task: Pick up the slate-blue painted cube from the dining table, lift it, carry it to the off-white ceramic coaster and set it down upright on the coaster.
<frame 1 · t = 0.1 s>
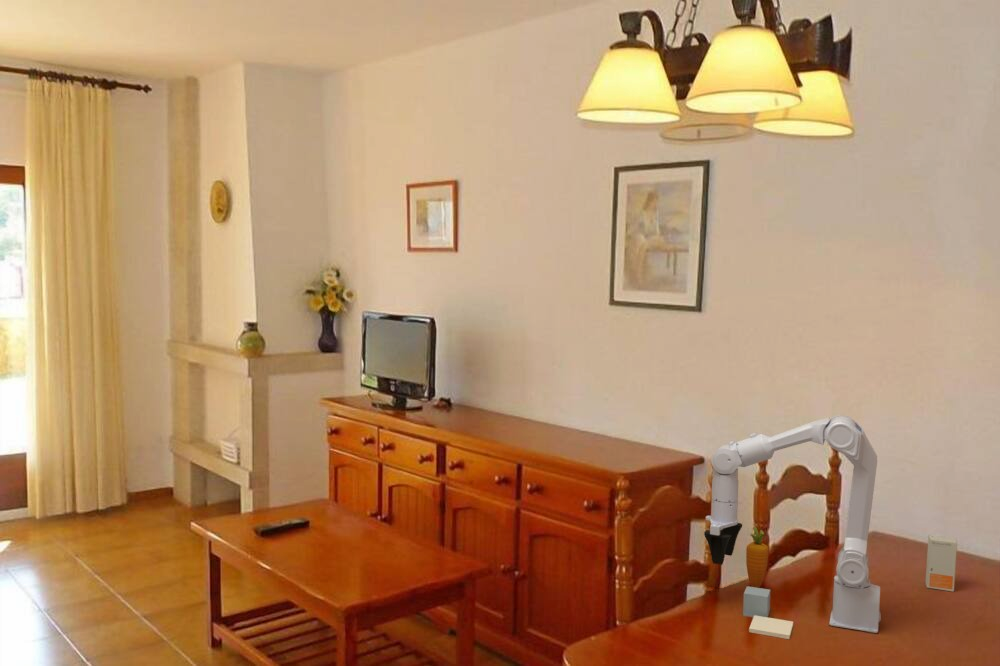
hand: (722, 559, 199), 10 cm above the table, tool pointing down, fingers open, 7 cm apart
cube: (756, 613, 194), on the table
coaster: (771, 628, 185), on the table
carrot: (755, 591, 208), on the table
skincare box: (939, 588, 213), on the table
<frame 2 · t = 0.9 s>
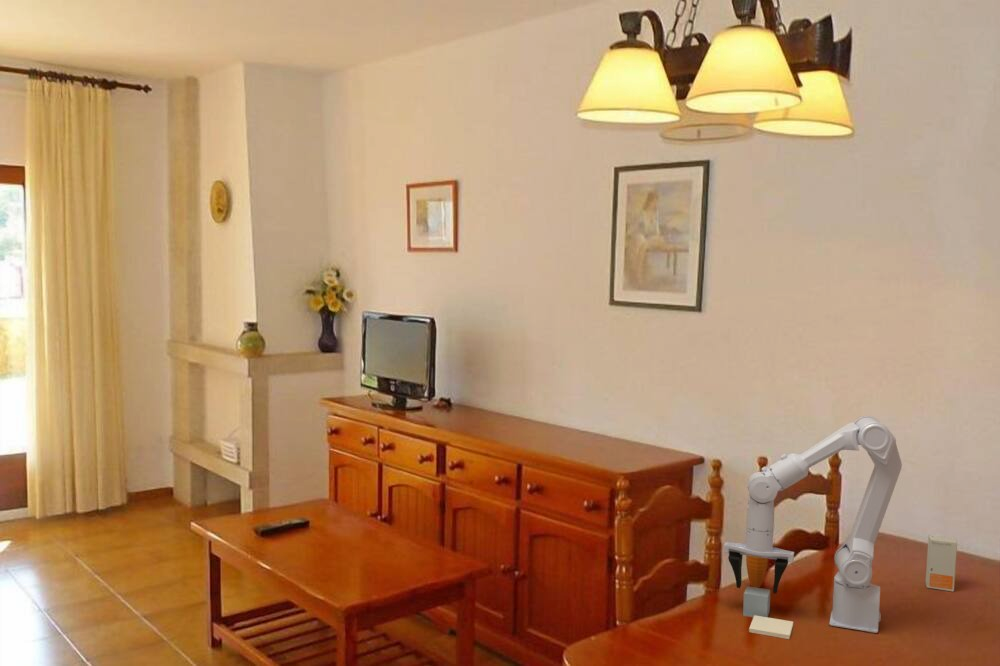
hand: (756, 589, 194), 5 cm above the table, tool pointing down, fingers open, 7 cm apart
nothing on the table moved.
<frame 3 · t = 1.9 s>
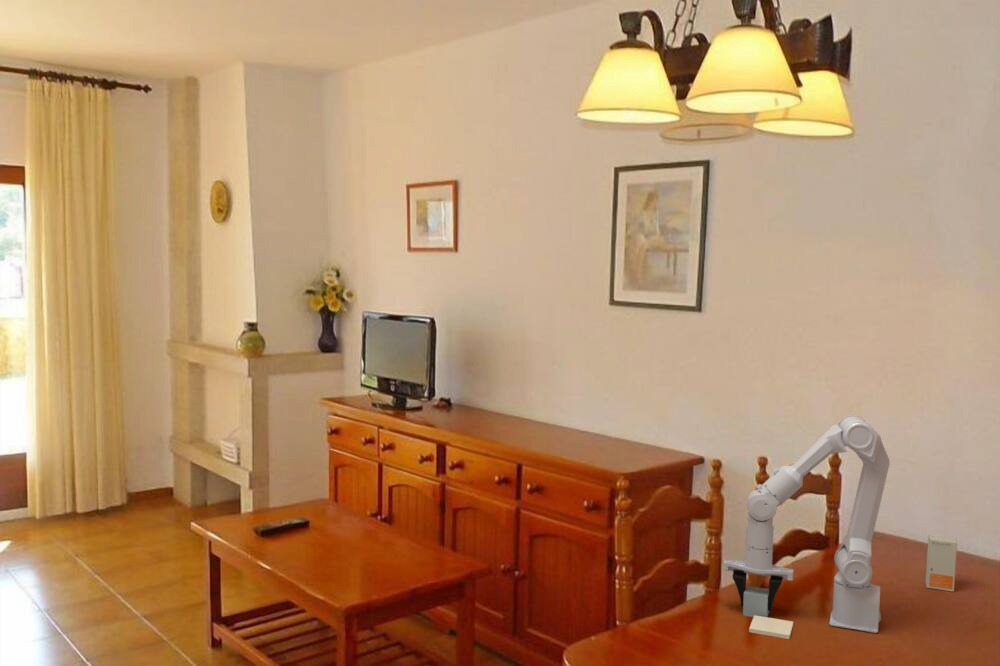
hand: (756, 607, 194), 1 cm above the table, tool pointing down, fingers closed on cube, 5 cm apart
cube: (756, 613, 194), on the table, touching gripper
everything else where it was.
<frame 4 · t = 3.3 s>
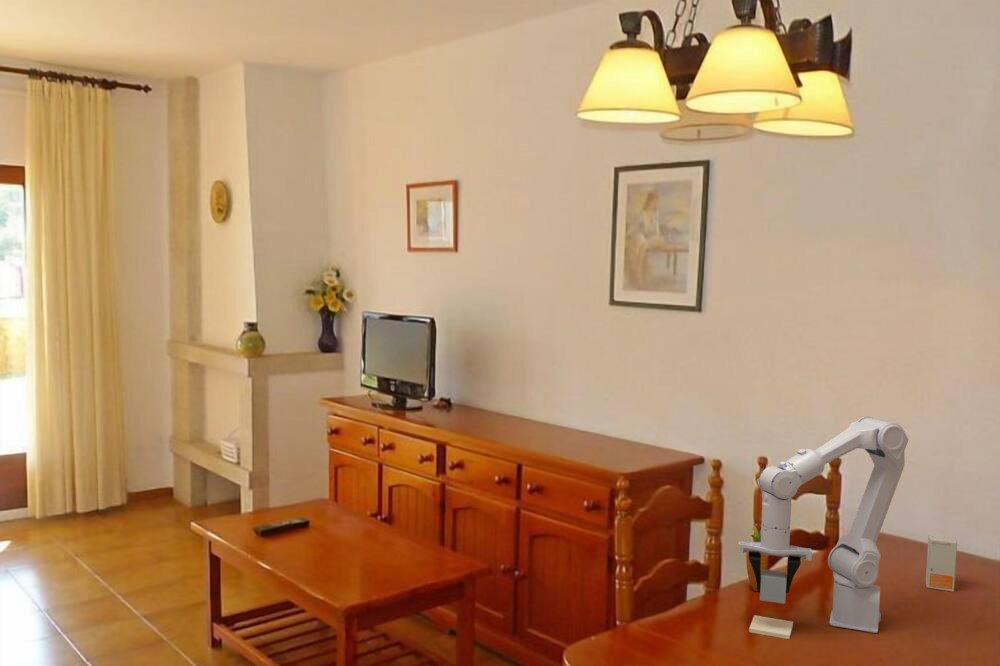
hand: (772, 589, 185), 8 cm above the table, tool pointing down, fingers closed on cube, 5 cm apart
cube: (772, 597, 185), point 7 cm above the table, touching gripper
everything else where it was.
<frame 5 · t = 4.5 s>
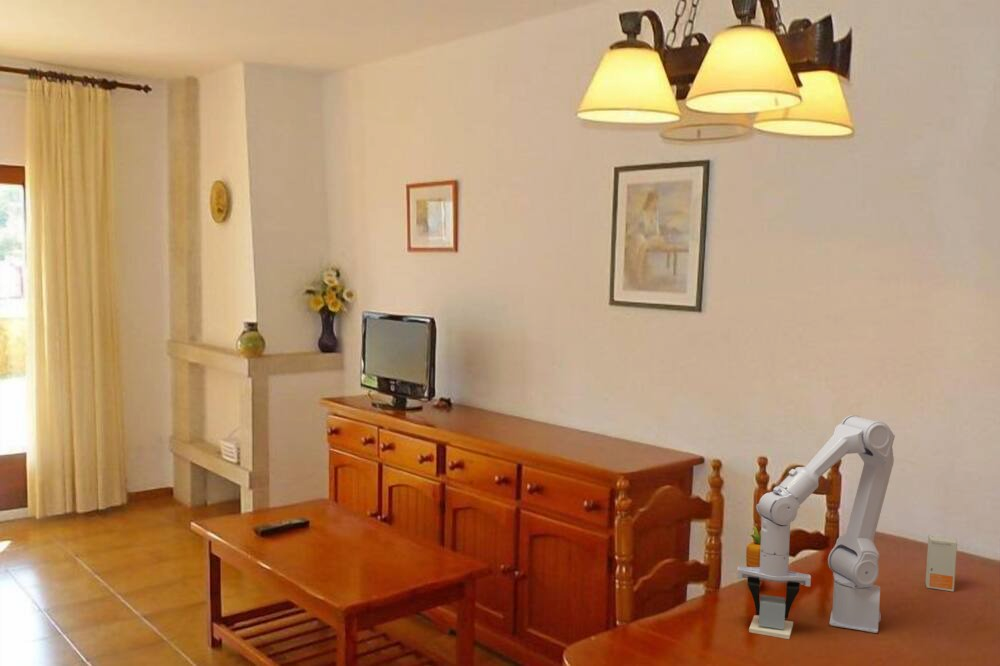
hand: (771, 615, 185), 3 cm above the table, tool pointing down, fingers closed on cube, 5 cm apart
cube: (771, 623, 186), point 1 cm above the table, touching gripper
everything else where it was.
when the fingers open (3 cm above the table, at t = 5.2 s): cube stays where it is, resting on coaster.
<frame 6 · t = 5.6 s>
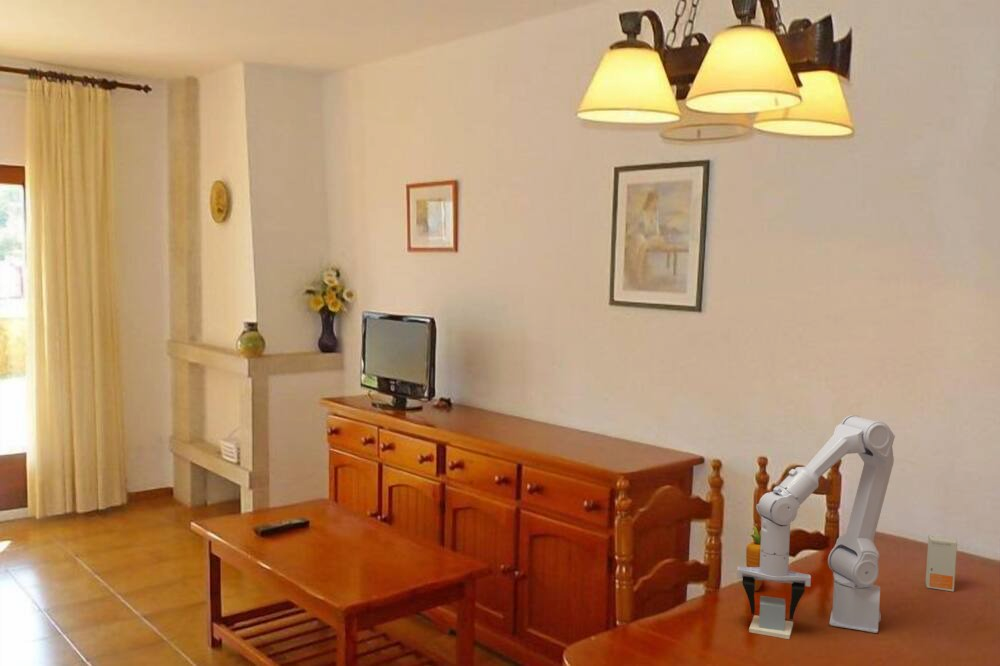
hand: (771, 615, 185), 3 cm above the table, tool pointing down, fingers open, 7 cm apart
cube: (771, 624, 186), point 1 cm above the table, touching coaster
everything else where it was.
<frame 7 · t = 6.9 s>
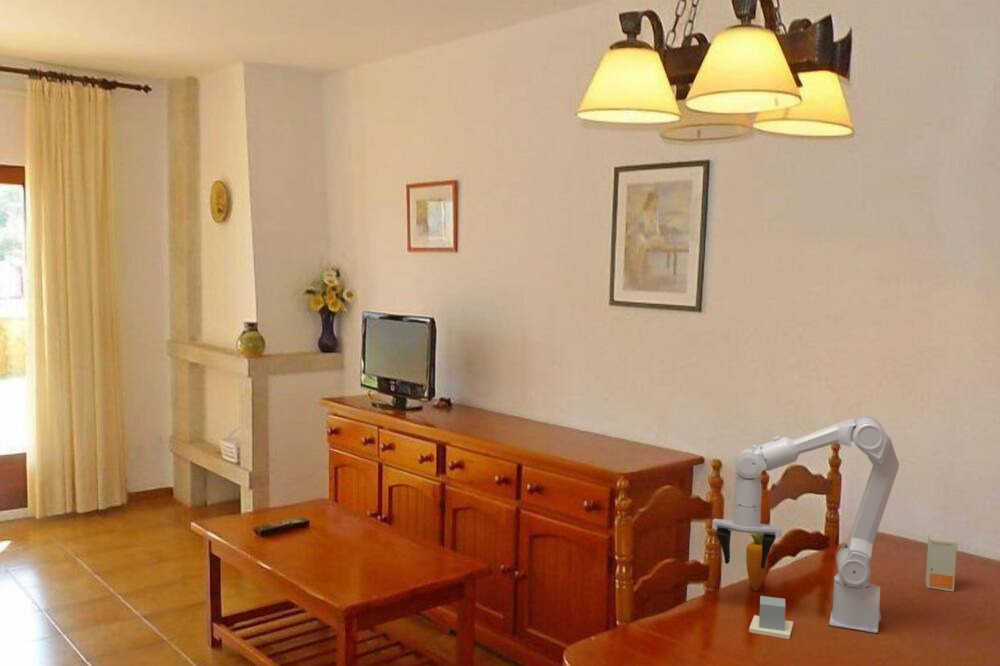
hand: (745, 564, 196), 10 cm above the table, tool pointing down, fingers open, 7 cm apart
nothing on the table moved.
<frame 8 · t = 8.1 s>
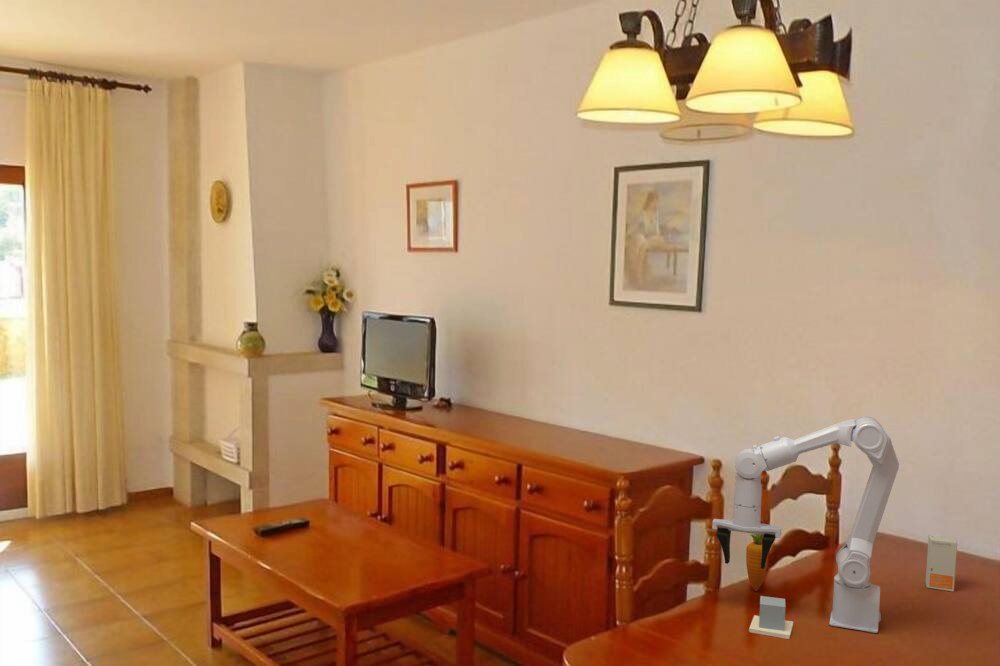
hand: (745, 564, 196), 10 cm above the table, tool pointing down, fingers open, 7 cm apart
nothing on the table moved.
at the end: cube inside the target area on the coaster (0.1 cm from its centre), point 0.8 cm above the coaster's base; cube tilted 0°; the gripper is holding nothing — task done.
